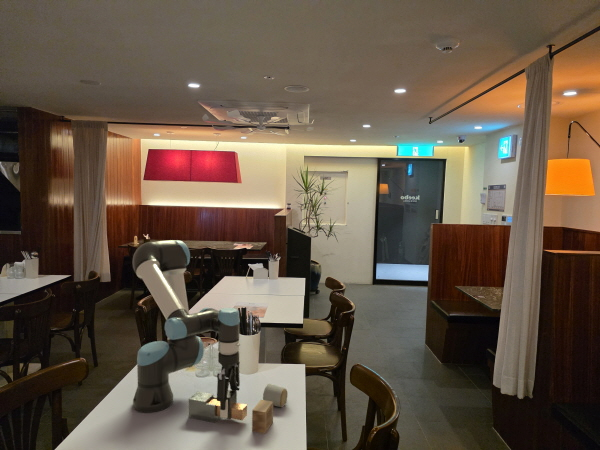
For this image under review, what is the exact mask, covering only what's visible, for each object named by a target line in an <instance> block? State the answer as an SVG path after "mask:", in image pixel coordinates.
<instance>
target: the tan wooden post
mask: <svg viewBox="0 0 600 450" xmlns="http://www.w3.org/2000/svg"><path fill="white" fill-rule="evenodd" d="M230 390H231V389H230ZM230 390H229V389H228V394H227V400H228V418H225V419H227V420H237V421H243V420H244V419H246V417H247V416H248V404H245V403H239V402H237V400H238V399H237V396H238V392H236V391H237V390H236V391H230ZM206 403H209V404H215V405H216V416H220V401H217V399H210V400H209V401H208V402H206ZM220 418H222V417H220ZM220 418H219V419H220ZM222 419H223V418H222Z"/></svg>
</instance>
